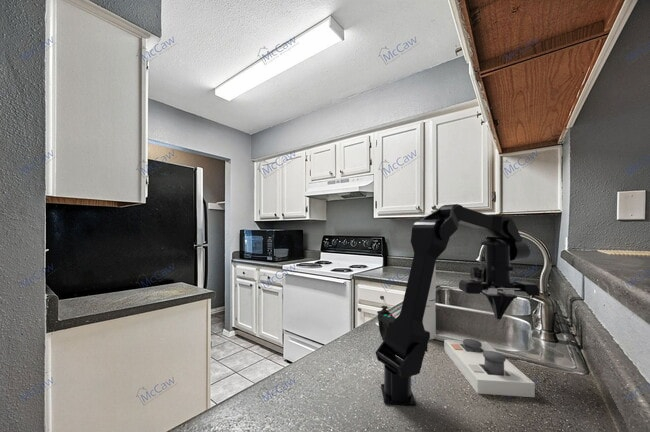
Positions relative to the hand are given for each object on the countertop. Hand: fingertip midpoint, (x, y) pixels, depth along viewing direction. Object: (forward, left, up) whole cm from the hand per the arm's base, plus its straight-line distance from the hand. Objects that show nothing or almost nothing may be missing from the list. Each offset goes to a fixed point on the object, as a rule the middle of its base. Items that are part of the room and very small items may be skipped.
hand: (498, 319), depth 76 cm
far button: (+2, +6, -12) cm, 13 cm away
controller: (+12, +28, -12) cm, 33 cm away
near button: (-10, +6, -10) cm, 15 cm away
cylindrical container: (+18, +15, -12) cm, 26 cm away
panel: (-4, +6, -12) cm, 14 cm away
